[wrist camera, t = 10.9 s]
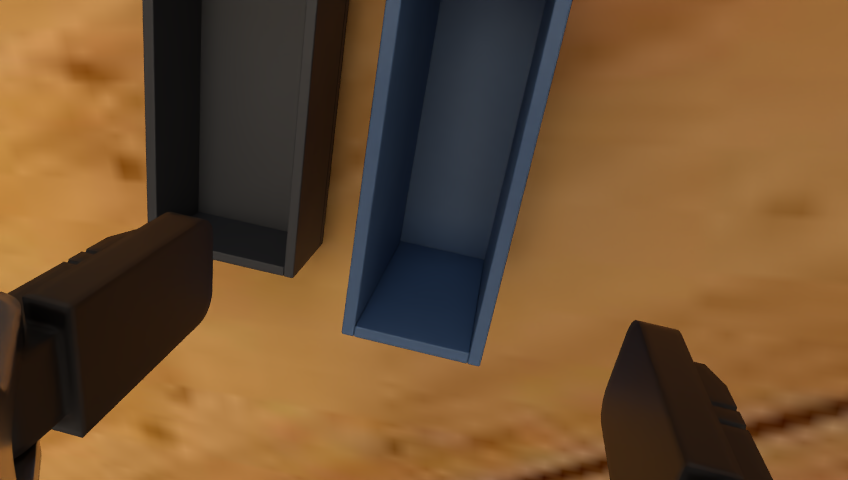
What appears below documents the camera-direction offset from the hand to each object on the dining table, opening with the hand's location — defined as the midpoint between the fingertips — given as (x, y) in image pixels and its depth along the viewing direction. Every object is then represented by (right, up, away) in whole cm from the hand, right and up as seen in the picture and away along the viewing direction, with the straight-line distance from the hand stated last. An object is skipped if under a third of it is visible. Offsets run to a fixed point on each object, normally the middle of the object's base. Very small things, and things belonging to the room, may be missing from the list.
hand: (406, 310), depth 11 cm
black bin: (-8, +9, +19) cm, 22 cm away
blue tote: (+2, +7, +18) cm, 19 cm away
